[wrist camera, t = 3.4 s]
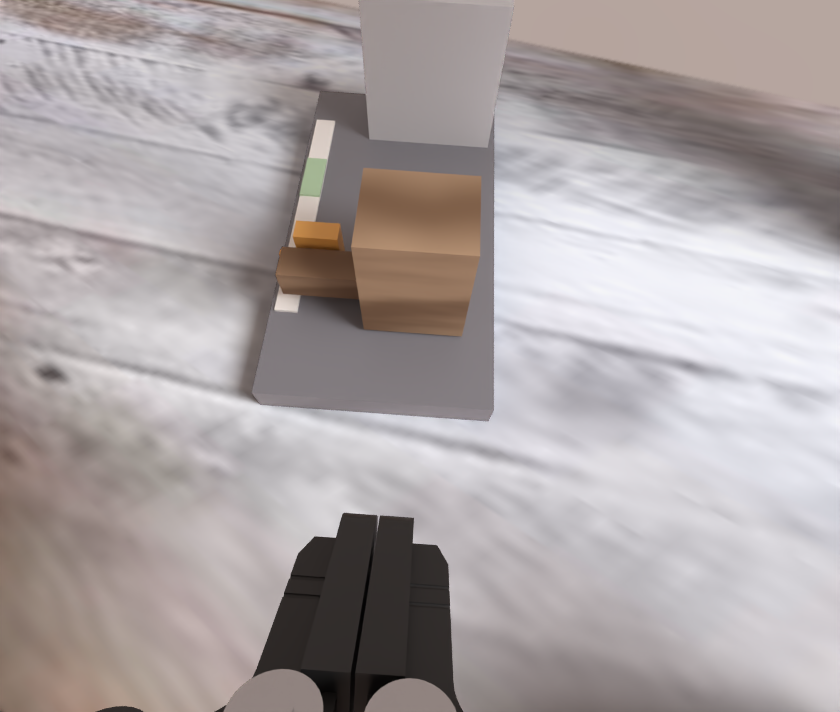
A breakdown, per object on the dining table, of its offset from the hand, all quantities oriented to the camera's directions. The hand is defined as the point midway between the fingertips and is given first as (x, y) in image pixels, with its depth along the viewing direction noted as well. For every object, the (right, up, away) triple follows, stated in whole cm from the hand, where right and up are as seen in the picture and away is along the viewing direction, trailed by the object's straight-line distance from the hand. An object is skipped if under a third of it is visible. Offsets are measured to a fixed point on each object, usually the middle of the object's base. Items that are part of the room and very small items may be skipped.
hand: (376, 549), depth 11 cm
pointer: (-6, +10, +22) cm, 25 cm away
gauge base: (-1, +12, +25) cm, 28 cm away
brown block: (-2, +8, +21) cm, 22 cm away
